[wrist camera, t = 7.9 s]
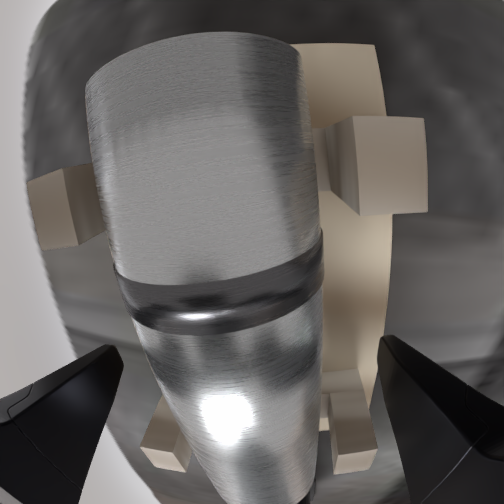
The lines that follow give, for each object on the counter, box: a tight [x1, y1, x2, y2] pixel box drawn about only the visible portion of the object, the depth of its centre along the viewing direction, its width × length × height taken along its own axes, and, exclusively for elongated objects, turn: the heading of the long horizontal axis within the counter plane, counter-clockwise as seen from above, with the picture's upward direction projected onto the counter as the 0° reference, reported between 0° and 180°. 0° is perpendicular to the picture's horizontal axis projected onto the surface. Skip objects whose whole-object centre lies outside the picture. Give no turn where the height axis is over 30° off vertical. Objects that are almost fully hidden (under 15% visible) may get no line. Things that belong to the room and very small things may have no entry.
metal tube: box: [85, 32, 325, 504], centre depth 8 cm, size 16×5×5 cm, turn 7°
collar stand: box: [26, 43, 428, 474], centre depth 10 cm, size 20×12×6 cm, turn 7°
